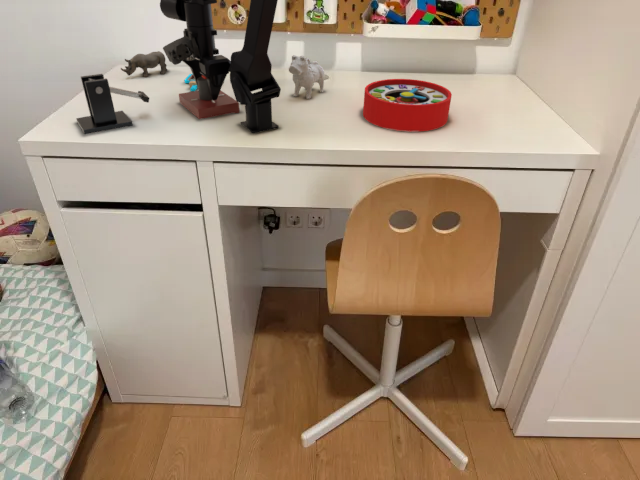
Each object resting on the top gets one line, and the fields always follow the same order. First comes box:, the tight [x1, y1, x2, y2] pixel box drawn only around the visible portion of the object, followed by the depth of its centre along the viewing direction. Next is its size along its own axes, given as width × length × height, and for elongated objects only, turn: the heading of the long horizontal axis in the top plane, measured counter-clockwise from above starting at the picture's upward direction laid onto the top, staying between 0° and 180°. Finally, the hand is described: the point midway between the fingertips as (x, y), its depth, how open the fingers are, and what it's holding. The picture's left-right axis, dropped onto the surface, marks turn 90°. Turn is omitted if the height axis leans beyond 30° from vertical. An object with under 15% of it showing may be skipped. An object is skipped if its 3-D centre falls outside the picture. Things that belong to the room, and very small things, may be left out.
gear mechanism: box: [184, 73, 198, 92], centre depth 135 cm, size 20×5×9 cm
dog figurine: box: [288, 54, 325, 100], centre depth 125 cm, size 5×13×11 cm, turn 150°
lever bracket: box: [75, 73, 133, 135], centre depth 106 cm, size 10×8×10 cm
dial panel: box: [178, 89, 240, 120], centre depth 118 cm, size 13×10×3 cm
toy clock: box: [362, 78, 453, 133], centre depth 115 cm, size 20×6×20 cm
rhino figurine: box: [120, 50, 168, 78], centre depth 139 cm, size 4×14×6 cm, turn 130°
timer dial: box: [197, 75, 212, 100], centre depth 116 cm, size 4×4×5 cm
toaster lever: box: [88, 78, 150, 103], centre depth 107 cm, size 12×5×2 cm, turn 122°
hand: (207, 94), depth 117 cm, fingers open, 8 cm apart
